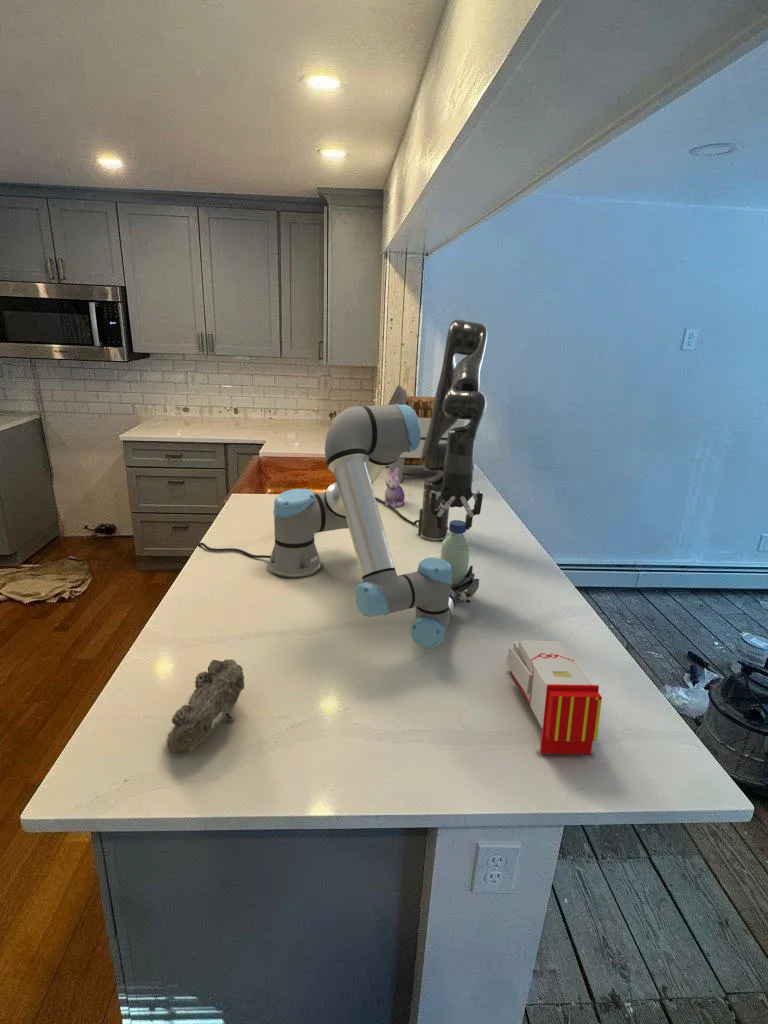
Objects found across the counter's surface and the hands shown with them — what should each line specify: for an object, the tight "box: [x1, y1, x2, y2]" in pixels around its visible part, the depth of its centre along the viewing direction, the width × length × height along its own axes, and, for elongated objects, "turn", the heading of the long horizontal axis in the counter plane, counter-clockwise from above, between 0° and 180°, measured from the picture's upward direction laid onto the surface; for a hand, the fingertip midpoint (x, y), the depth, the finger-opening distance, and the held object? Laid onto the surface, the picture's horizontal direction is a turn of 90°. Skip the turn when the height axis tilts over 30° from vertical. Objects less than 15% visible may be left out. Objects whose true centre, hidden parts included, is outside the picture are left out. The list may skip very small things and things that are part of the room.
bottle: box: [439, 532, 471, 602], centre depth 155 cm, size 8×8×21 cm
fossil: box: [166, 658, 245, 754], centre depth 106 cm, size 22×10×15 cm
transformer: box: [386, 384, 465, 483], centre depth 268 cm, size 34×33×41 cm
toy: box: [506, 640, 603, 755], centre depth 114 cm, size 12×13×30 cm
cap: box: [448, 519, 467, 534], centre depth 151 cm, size 4×4×2 cm
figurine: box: [383, 467, 405, 508], centre depth 227 cm, size 9×10×15 cm
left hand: (456, 567), depth 161 cm, fingers closed on bottle, 8 cm apart
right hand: (453, 528), depth 152 cm, fingers open, 7 cm apart
